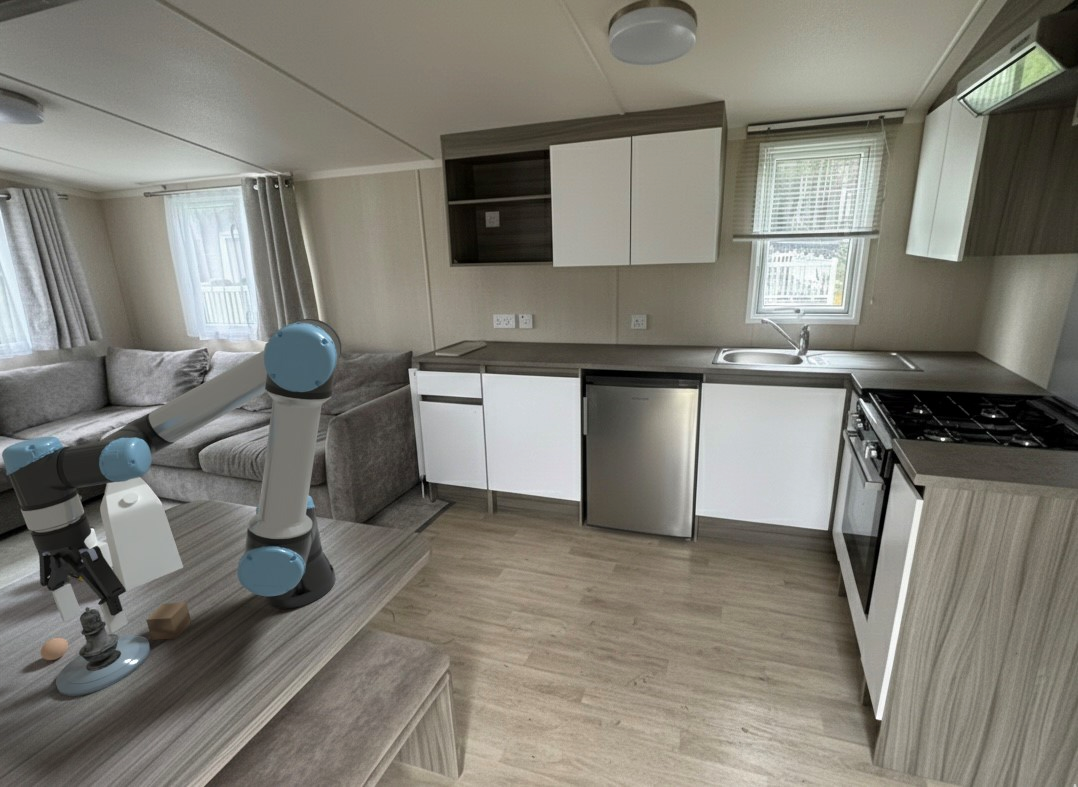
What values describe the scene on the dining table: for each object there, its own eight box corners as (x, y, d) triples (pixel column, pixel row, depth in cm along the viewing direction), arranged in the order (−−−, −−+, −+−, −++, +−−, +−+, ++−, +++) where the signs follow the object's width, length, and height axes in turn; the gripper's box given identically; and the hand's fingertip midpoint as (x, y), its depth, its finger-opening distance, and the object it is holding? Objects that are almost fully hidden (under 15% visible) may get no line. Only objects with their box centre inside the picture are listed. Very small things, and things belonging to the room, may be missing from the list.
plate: (166, 647, 103) (165, 641, 102) (89, 703, 90) (87, 697, 90) (120, 635, 107) (118, 629, 107) (39, 686, 95) (37, 680, 94)
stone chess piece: (100, 673, 95) (82, 619, 92) (76, 670, 96) (57, 616, 93) (130, 650, 101) (114, 598, 98) (107, 647, 102) (90, 596, 99)
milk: (169, 553, 139) (145, 465, 132) (183, 567, 132) (158, 475, 125) (114, 575, 130) (86, 482, 123) (126, 591, 123) (96, 493, 116)
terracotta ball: (75, 651, 103) (69, 635, 102) (51, 666, 100) (45, 649, 98) (62, 648, 104) (57, 631, 103) (39, 662, 101) (33, 645, 100)
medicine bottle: (66, 577, 130) (52, 535, 127) (98, 561, 137) (86, 521, 134) (83, 582, 128) (69, 539, 125) (114, 566, 134) (102, 525, 131)
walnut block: (191, 622, 110) (186, 602, 109) (176, 638, 105) (170, 618, 104) (168, 623, 110) (162, 603, 109) (152, 640, 105) (146, 619, 104)
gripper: (127, 517, 90) (160, 618, 96) (40, 507, 98) (75, 600, 104) (79, 540, 83) (117, 647, 89) (-10, 526, 92) (30, 625, 97)
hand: (95, 622), depth 96 cm, fingers open, 13 cm apart
